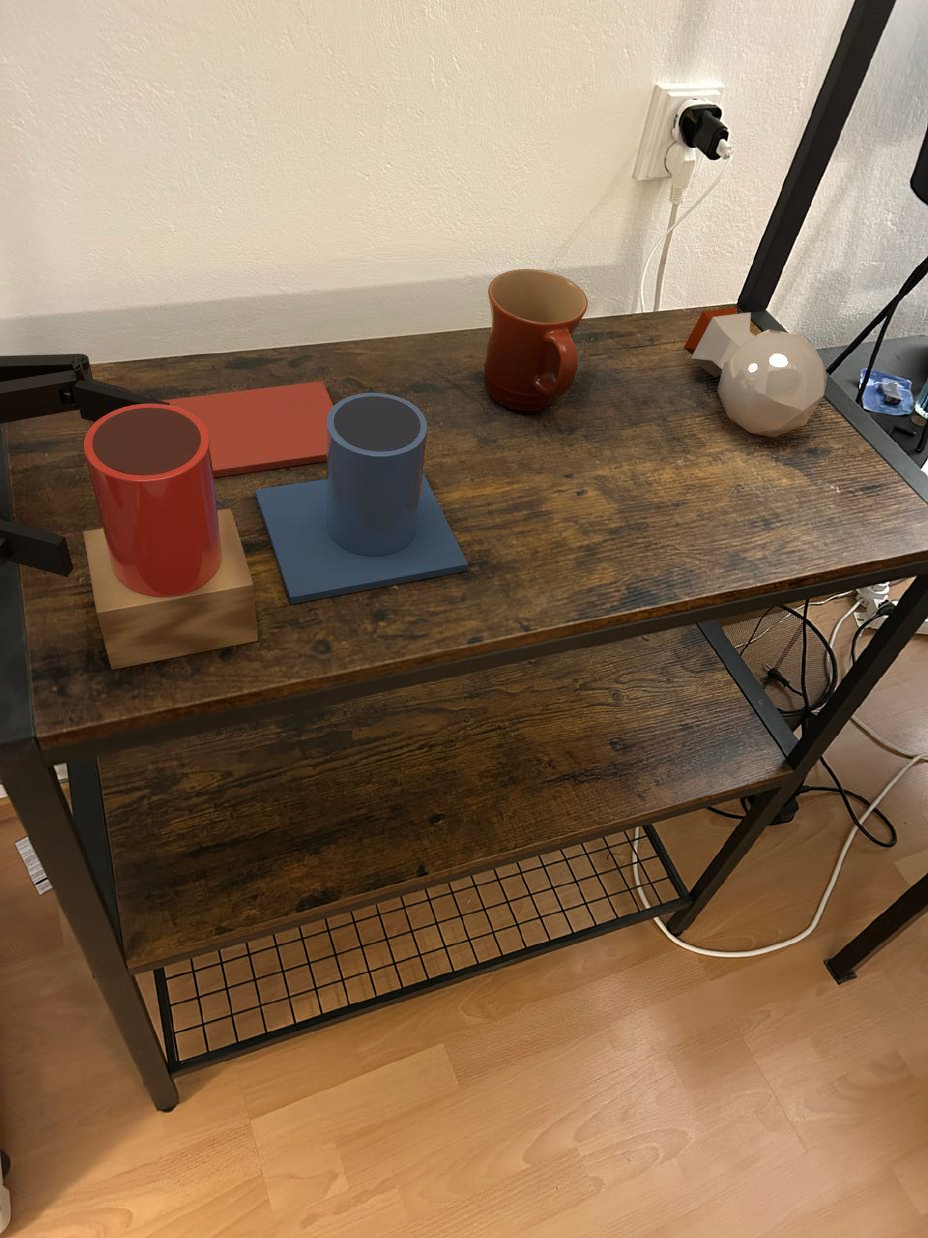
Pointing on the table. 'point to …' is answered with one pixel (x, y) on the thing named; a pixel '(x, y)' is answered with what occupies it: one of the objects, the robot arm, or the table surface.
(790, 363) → the potion bottle
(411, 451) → the blue cup
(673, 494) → the table surface
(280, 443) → the red mat
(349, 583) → the blue mat
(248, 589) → the wooden block
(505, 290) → the mug
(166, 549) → the red cup
